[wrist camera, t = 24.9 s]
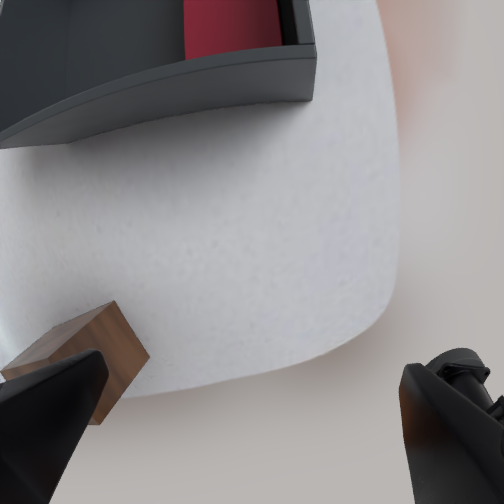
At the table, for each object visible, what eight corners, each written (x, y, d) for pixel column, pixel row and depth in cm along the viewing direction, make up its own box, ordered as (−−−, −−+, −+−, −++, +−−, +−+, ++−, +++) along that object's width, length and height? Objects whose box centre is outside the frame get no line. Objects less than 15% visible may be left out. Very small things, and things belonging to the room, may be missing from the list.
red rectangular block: (289, 82, 16) (284, 63, 12) (209, 91, 17) (185, 77, 13) (273, -38, 13) (265, -70, 9) (202, -27, 14) (183, -54, 10)
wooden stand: (114, 300, 24) (47, 357, 15) (150, 357, 25) (99, 425, 17) (53, 327, 27) (-1, 371, 18) (82, 372, 28) (37, 422, 20)
